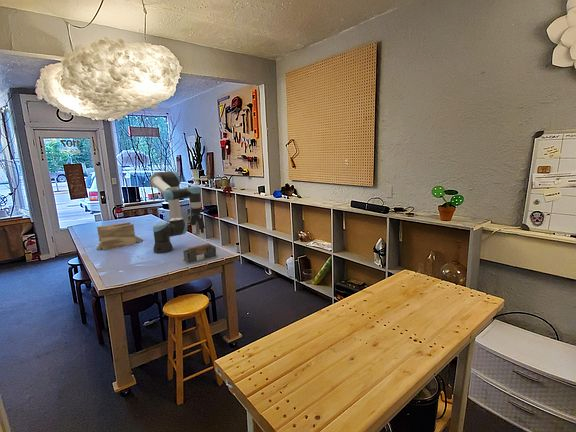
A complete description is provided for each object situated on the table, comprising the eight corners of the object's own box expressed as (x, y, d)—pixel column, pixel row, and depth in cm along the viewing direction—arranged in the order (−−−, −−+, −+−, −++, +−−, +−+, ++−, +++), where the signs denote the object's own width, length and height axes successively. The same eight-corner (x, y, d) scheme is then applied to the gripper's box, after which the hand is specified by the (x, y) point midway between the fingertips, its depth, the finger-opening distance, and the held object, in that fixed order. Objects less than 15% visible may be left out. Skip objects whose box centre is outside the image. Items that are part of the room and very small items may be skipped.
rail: (188, 255, 227) (187, 248, 226) (209, 250, 238) (208, 243, 236) (190, 257, 224) (189, 249, 223) (211, 251, 235) (211, 244, 233)
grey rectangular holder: (183, 260, 228) (182, 250, 227) (211, 253, 243) (210, 244, 241) (188, 264, 221) (187, 253, 219) (217, 256, 235) (216, 246, 233)
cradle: (100, 246, 271) (97, 226, 267) (132, 240, 287) (129, 222, 283) (103, 250, 260) (99, 229, 256) (136, 243, 276) (133, 224, 273)
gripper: (184, 205, 231) (186, 232, 235) (198, 210, 212) (200, 239, 217) (194, 204, 235) (196, 231, 240) (208, 209, 217) (210, 237, 221)
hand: (198, 235), depth 228 cm, fingers open, 13 cm apart
